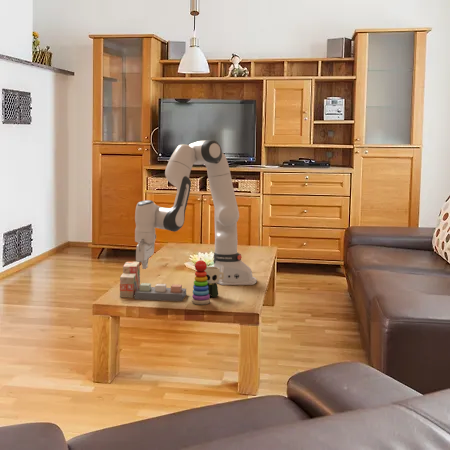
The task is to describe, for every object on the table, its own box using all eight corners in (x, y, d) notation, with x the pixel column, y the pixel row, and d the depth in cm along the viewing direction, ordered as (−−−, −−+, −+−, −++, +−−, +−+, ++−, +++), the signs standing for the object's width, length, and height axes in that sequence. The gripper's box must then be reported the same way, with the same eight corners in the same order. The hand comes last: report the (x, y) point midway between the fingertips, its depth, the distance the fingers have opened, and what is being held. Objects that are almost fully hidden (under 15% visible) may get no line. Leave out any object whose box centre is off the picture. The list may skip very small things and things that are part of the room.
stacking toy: (191, 300, 295) (191, 258, 293) (209, 300, 296) (210, 258, 293) (191, 305, 287) (192, 262, 285) (210, 305, 288) (211, 262, 285)
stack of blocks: (133, 297, 299) (133, 270, 297) (119, 297, 299) (119, 270, 297) (140, 286, 320) (140, 261, 318) (126, 286, 320) (126, 260, 318)
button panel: (186, 295, 305) (186, 288, 304) (181, 301, 294) (182, 294, 294) (140, 293, 307) (140, 286, 307) (134, 299, 296) (134, 292, 296)
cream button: (166, 290, 302) (166, 284, 302) (164, 292, 298) (164, 286, 297) (157, 290, 302) (157, 283, 302) (155, 292, 298) (155, 285, 298)
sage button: (150, 289, 303) (150, 283, 302) (148, 292, 299) (148, 285, 298) (141, 289, 303) (141, 283, 303) (139, 291, 299) (139, 285, 299)
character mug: (198, 298, 300) (198, 269, 298) (199, 294, 307) (200, 266, 305) (223, 298, 299) (223, 270, 298) (223, 294, 307) (224, 266, 305)
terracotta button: (181, 291, 301) (181, 284, 301) (180, 293, 297) (180, 286, 297) (172, 290, 302) (172, 284, 301) (170, 293, 298) (170, 286, 297)
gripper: (146, 241, 287) (146, 273, 289) (156, 234, 307) (156, 264, 309) (132, 241, 288) (132, 272, 290) (143, 233, 308) (143, 263, 310)
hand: (144, 268), depth 300 cm, fingers closed
